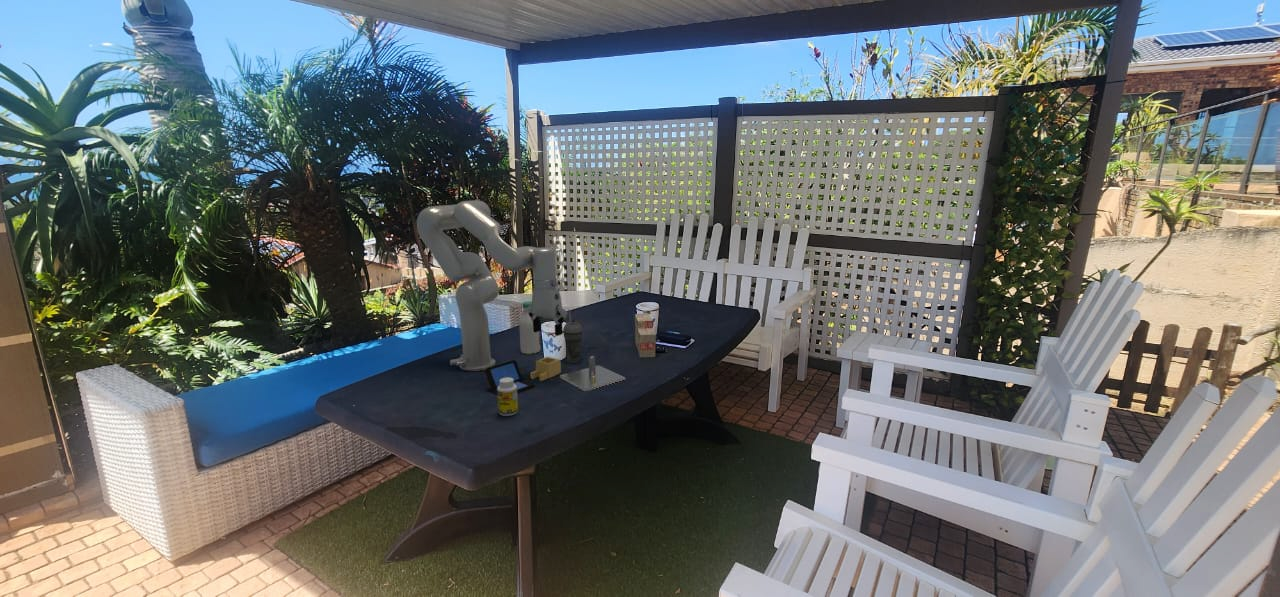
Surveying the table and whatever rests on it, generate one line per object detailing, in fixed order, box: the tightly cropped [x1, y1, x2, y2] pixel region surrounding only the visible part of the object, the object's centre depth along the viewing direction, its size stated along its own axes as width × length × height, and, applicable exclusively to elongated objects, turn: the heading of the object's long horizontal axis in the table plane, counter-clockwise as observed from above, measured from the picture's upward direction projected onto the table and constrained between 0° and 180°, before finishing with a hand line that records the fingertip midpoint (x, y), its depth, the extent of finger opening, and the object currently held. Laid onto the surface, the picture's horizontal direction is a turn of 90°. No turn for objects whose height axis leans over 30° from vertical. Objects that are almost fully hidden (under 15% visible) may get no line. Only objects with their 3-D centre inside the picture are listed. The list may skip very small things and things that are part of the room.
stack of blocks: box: [634, 313, 657, 358], centre depth 212 cm, size 21×6×12 cm, turn 5°
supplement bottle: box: [496, 377, 519, 417], centre depth 154 cm, size 6×6×10 cm
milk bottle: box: [519, 300, 541, 355], centre depth 209 cm, size 8×8×20 cm
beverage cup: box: [562, 309, 583, 364], centre depth 197 cm, size 7×7×20 cm
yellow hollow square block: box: [529, 356, 562, 382], centre depth 184 cm, size 10×6×5 cm, turn 149°
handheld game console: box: [484, 359, 536, 395], centre depth 173 cm, size 12×11×7 cm
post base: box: [559, 355, 626, 393], centre depth 180 cm, size 16×16×8 cm
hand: (548, 333), depth 183 cm, fingers open, 9 cm apart
